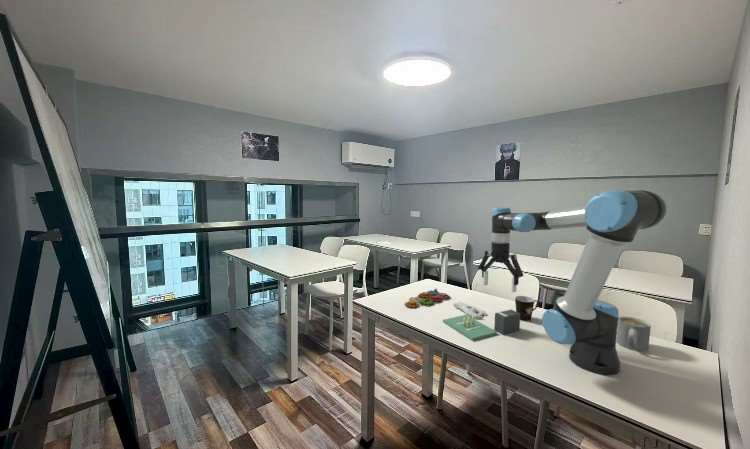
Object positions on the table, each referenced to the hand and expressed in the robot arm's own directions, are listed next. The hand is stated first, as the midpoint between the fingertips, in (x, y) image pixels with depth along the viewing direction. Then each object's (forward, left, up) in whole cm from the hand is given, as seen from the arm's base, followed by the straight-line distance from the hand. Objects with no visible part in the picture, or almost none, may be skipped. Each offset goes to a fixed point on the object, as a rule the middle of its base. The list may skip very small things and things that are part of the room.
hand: (499, 288), depth 137 cm
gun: (+19, 0, -19) cm, 27 cm away
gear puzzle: (+43, +11, -19) cm, 49 cm away
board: (+5, +12, -19) cm, 23 cm away
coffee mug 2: (-35, -36, -19) cm, 53 cm away
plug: (-4, -2, -19) cm, 19 cm away
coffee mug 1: (+1, -21, -19) cm, 28 cm away
